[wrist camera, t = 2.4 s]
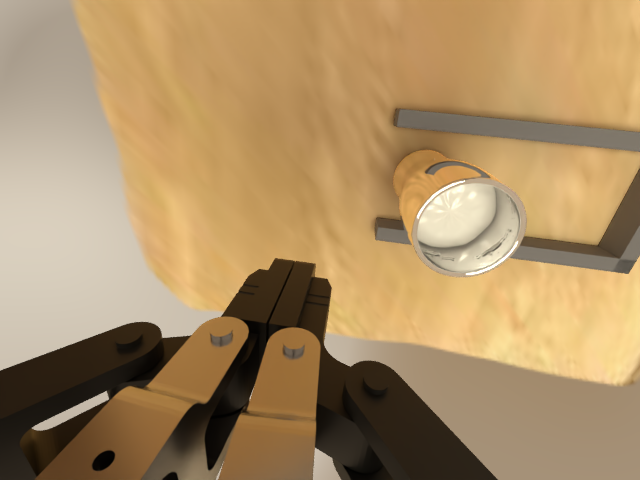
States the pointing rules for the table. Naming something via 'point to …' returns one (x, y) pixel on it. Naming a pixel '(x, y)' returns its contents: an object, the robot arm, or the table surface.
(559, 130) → the u rest
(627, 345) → the table surface
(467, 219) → the beer glass
